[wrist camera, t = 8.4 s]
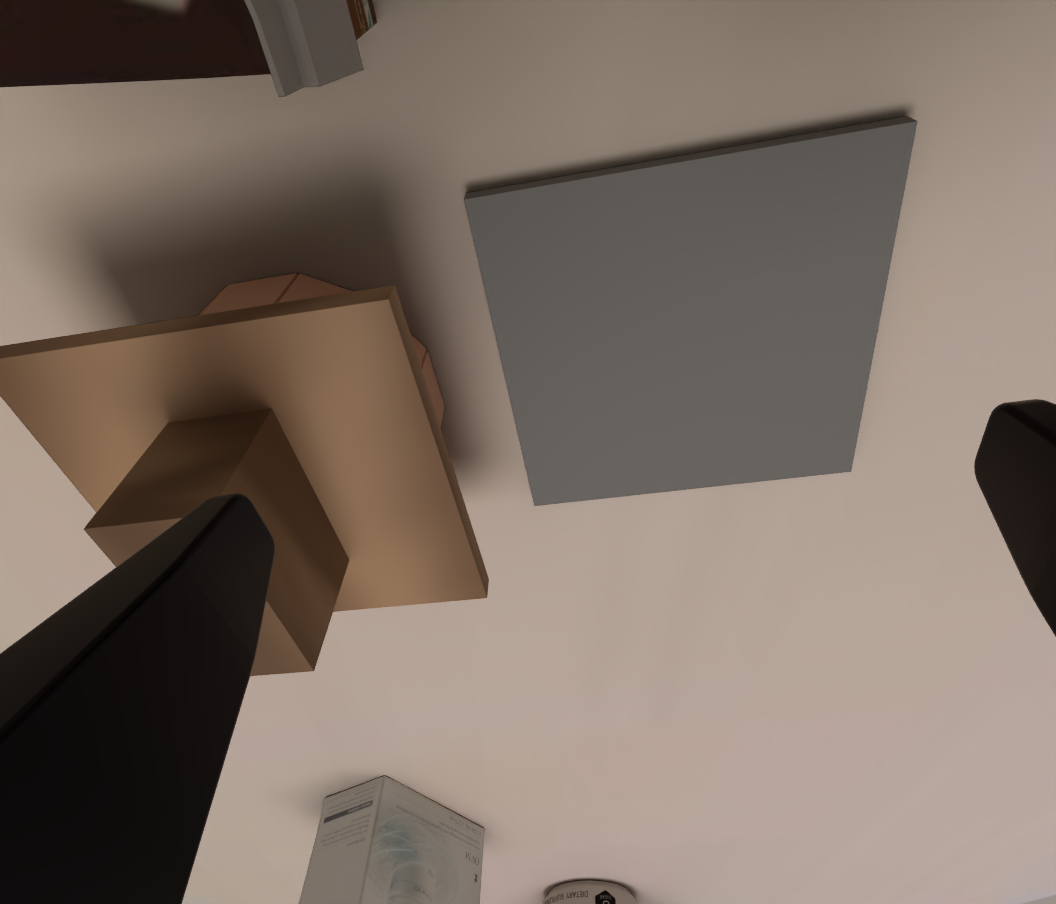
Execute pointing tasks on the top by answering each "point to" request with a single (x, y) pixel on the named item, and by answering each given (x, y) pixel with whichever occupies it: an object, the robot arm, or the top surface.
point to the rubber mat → (693, 310)
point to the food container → (181, 40)
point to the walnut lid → (264, 450)
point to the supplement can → (589, 893)
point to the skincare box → (392, 850)
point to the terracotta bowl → (306, 288)
